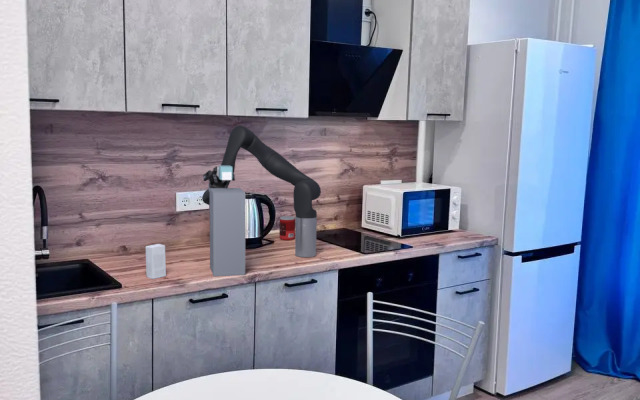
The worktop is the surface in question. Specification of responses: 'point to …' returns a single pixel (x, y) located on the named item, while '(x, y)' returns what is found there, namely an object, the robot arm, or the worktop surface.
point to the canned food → (287, 228)
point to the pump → (224, 172)
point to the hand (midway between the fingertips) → (221, 168)
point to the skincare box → (155, 261)
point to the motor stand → (227, 231)
